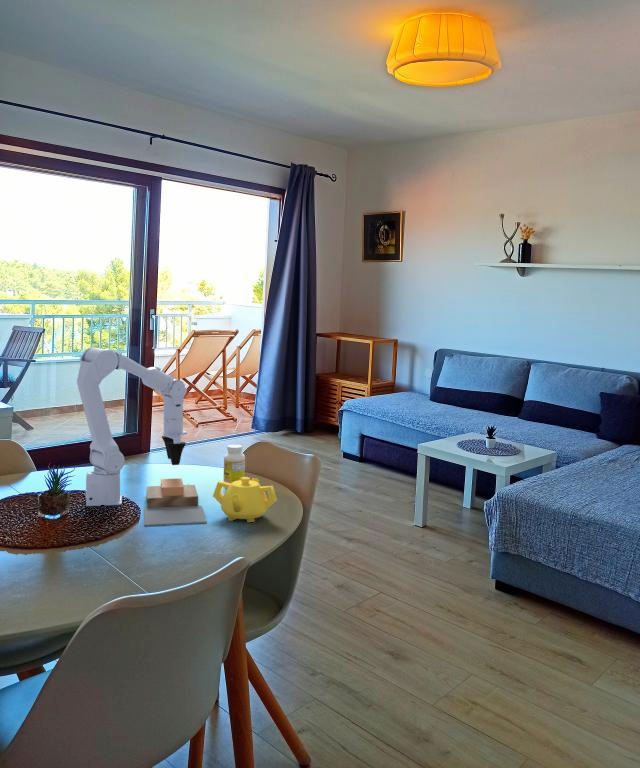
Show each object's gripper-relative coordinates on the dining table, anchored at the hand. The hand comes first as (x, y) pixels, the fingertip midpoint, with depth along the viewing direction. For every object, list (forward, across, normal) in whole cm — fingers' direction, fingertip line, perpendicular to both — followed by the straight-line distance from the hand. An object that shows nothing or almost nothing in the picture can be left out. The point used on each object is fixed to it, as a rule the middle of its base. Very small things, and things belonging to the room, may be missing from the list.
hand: (173, 461), depth 212 cm
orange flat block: (+6, -12, +2) cm, 14 cm away
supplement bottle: (+9, 0, -19) cm, 21 cm away
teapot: (+9, -31, -14) cm, 36 cm away
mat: (+8, -26, +4) cm, 27 cm away
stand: (+8, -12, +2) cm, 15 cm away
